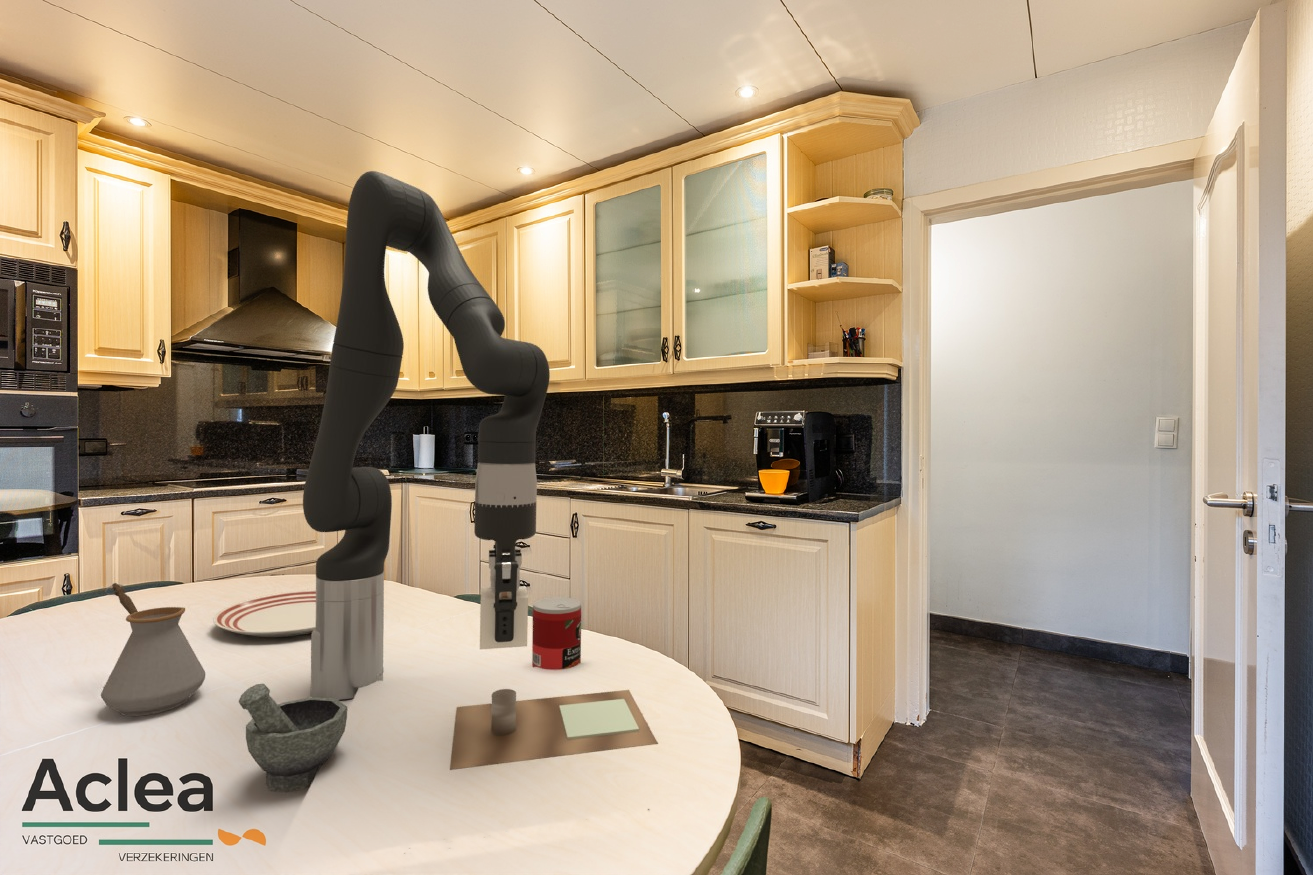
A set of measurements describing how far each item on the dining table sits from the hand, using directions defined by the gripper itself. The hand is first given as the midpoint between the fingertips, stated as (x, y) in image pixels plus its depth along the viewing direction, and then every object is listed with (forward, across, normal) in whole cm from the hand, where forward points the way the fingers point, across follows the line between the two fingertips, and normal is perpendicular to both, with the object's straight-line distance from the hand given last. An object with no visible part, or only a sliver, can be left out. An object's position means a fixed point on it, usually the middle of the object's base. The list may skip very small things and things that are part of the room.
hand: (503, 632), depth 78 cm
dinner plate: (+15, +59, +39) cm, 72 cm away
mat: (+12, 0, -12) cm, 17 cm away
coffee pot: (+15, +26, +50) cm, 58 cm away
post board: (+14, 0, -6) cm, 15 cm away
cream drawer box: (+1, 0, 0) cm, 1 cm away
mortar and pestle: (+14, -3, +23) cm, 27 cm away
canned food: (+14, +22, -9) cm, 28 cm away
